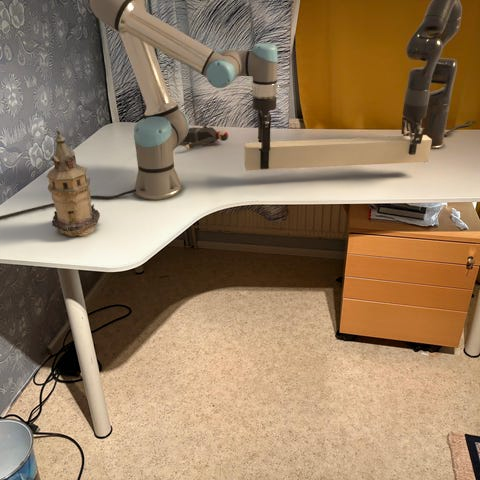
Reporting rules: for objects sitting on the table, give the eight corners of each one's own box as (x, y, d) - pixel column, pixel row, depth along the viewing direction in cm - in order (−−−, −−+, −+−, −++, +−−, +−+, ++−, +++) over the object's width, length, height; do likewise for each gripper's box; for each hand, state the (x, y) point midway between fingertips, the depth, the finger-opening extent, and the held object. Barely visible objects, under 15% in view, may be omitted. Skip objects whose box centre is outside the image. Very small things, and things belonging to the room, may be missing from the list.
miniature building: (80, 214, 164) (63, 117, 149) (111, 225, 157) (96, 125, 142) (44, 231, 154) (22, 130, 140) (75, 244, 147) (55, 139, 133)
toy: (166, 118, 231) (234, 118, 225) (168, 133, 234) (235, 133, 228) (145, 138, 209) (219, 138, 203) (147, 153, 212) (221, 154, 206)
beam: (246, 170, 178) (246, 148, 174) (244, 165, 182) (244, 142, 178) (428, 161, 183) (432, 139, 179) (422, 156, 187) (426, 134, 183)
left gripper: (280, 103, 161) (278, 175, 173) (272, 88, 177) (271, 155, 188) (255, 104, 161) (255, 176, 172) (249, 89, 176) (249, 156, 188)
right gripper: (436, 107, 168) (427, 158, 177) (419, 95, 181) (411, 143, 189) (413, 108, 168) (405, 159, 176) (397, 96, 180) (391, 144, 189)
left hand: (263, 165), depth 180 cm, fingers closed on beam, 5 cm apart
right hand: (408, 151), depth 183 cm, fingers closed on beam, 5 cm apart
